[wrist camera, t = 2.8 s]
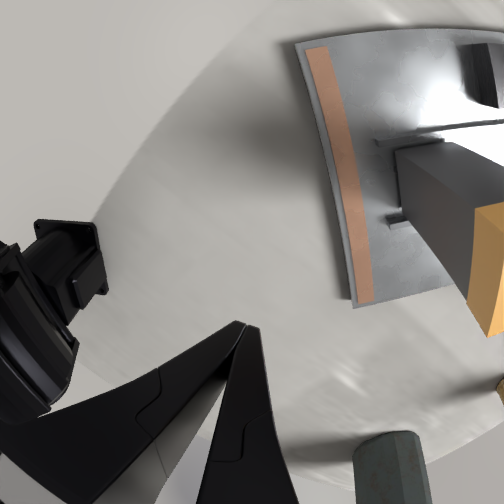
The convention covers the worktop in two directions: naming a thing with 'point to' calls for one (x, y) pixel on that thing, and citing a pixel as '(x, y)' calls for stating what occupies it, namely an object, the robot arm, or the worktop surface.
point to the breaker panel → (398, 137)
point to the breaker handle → (459, 220)
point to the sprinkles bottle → (501, 390)
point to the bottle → (391, 470)
